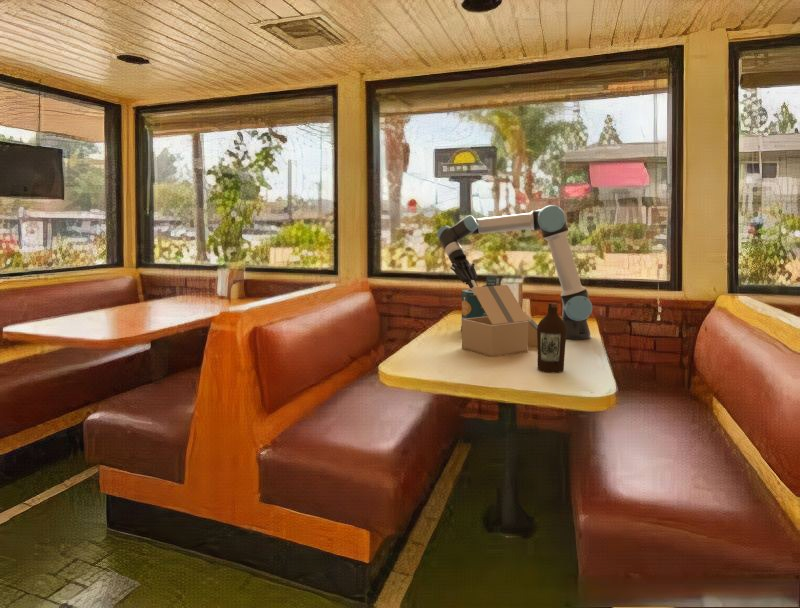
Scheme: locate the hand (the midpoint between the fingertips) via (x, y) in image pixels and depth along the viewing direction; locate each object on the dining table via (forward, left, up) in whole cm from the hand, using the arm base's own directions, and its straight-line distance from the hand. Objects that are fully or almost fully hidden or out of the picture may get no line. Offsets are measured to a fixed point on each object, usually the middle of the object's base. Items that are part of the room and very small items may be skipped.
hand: (477, 293), depth 247 cm
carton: (-10, +5, -24) cm, 26 cm away
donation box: (+12, -33, -24) cm, 42 cm away
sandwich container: (-25, -14, -24) cm, 37 cm away
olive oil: (-40, +28, -24) cm, 55 cm away
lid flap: (-13, +7, -3) cm, 15 cm away
